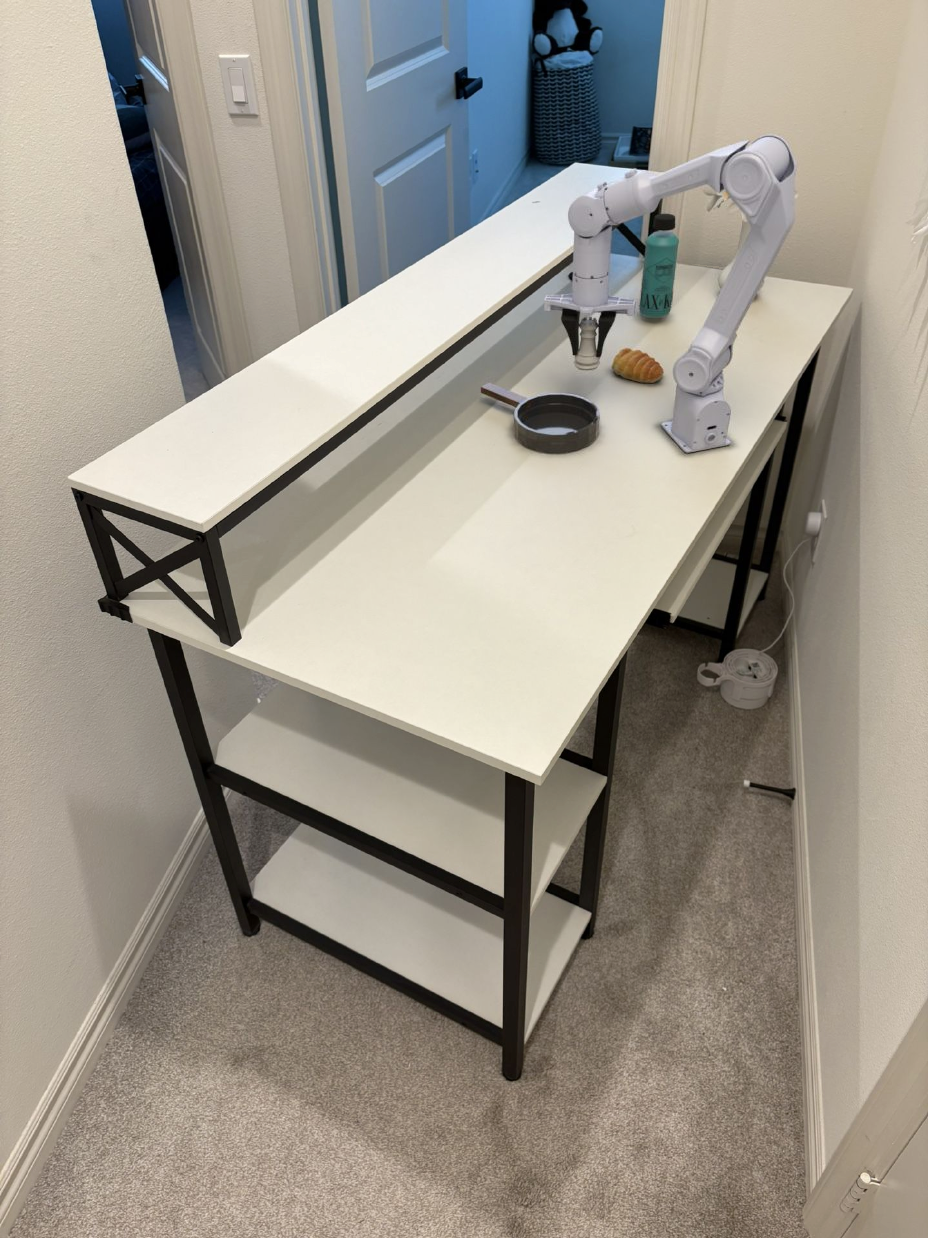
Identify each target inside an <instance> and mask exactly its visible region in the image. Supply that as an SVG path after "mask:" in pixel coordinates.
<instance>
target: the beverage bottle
mask: <svg viewBox="0 0 928 1238" xmlns="http://www.w3.org/2000/svg"><path fill="white" fill-rule="evenodd" d="M652 228H653V229H654V230H656V231H654V232H652V233H651V234H650V235H649V236H648V237H646V239H645V250H644V251H645V252H644V258H643V259H644V262H643V269H642V276H641V284H640V285H641V288H640V297H639V300H638V302H639V304H638V309H639V313H640V314H641V315H642V316H645V317H648V318H663V317H666V316H668V315H669V314H670V312H671V311H672V303H673V299H674V292H675V291H674V290H675V289H674V285H675V278H676V269H677V257H678V249H679V242H680V240H679V237H678V236H677V235H676V234H674V232H671V231H673V230H674V229H675V228H676V216H675V215H674V214H671V213H657V214H656V215H655V216H654V219H653V223H652Z"/></svg>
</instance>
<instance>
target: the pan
mask: <svg viewBox="0 0 928 1238" xmlns="http://www.w3.org/2000/svg"><path fill="white" fill-rule="evenodd" d="M527 398H528V399H526V400H524V401H523V402H521V403H520V404H519V405H518V406H517V407H516V408H515V409H514V410H513V435H514V436H515V438H516V439H517V441H518V442H519V443H521V444H522V445H523V446H525V447H526V448H529V449H530V450H533V451H536V452H541V453H546V454H566V453H572V452H576V451H579V450H582V449H584V448H587V447H588V446H590V445H591V444H592V443H593V442H594V441H595V440H596V439H597V437H598V435H599V434H600V421H601V420H600V418H601V417H600V416H601V415H600V409H599V407H598V406H597V405H596V404H595V402H593V401H592V400H590V399H588V398H586V397H584V396H580V395H577V394H574V393H573V394H572V393H567V392H566V393H565V392H548V393H547V392H546V393H542V394H535V395H534V396H531V397H527ZM528 401H530V407H529V408H527V409H526V403H527V402H528Z"/></svg>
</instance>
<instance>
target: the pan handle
mask: <svg viewBox="0 0 928 1238" xmlns="http://www.w3.org/2000/svg"><path fill="white" fill-rule="evenodd" d="M480 394H482V395H485V396H487V397H490V398H492V399H494V400H497V401H499V402H501V403H504V404H507V405H509V406H511V407H513V408H515V409H516V407H517V406H518V405H519V404H520V403H521V402H523V401H524V400H526V399H528V398H529V397H526V396H523V395H521V394H518V393H516V392H513V391H511V390H509V389H506V388H504V387H501V386H500V385H497V384H494V383H493V382H487V383H485V384H484V385H481V386H480ZM529 407H530V401H528V402H527V403H526V409H527V408H529Z"/></svg>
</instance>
